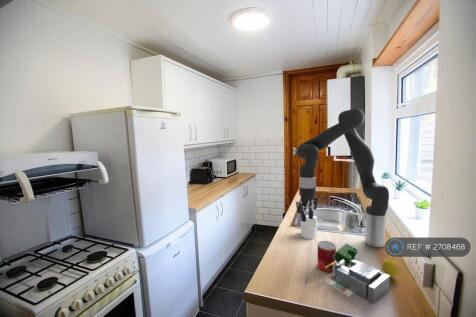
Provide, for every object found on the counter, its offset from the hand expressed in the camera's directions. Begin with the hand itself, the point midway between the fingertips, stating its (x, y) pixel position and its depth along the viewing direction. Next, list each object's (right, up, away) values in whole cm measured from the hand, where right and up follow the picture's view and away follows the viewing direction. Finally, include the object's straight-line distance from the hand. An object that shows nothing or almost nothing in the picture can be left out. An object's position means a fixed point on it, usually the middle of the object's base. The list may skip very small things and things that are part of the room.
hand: (307, 219), depth 112 cm
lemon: (+30, -20, -15) cm, 40 cm away
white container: (+9, -17, +26) cm, 32 cm away
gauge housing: (+16, -21, -20) cm, 33 cm away
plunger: (+10, -21, -16) cm, 28 cm away
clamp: (+18, -19, -1) cm, 27 cm away
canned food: (+7, -20, -7) cm, 22 cm away
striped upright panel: (+6, -22, -20) cm, 30 cm away
